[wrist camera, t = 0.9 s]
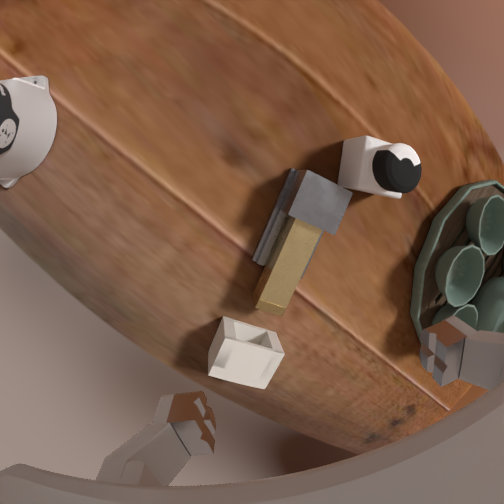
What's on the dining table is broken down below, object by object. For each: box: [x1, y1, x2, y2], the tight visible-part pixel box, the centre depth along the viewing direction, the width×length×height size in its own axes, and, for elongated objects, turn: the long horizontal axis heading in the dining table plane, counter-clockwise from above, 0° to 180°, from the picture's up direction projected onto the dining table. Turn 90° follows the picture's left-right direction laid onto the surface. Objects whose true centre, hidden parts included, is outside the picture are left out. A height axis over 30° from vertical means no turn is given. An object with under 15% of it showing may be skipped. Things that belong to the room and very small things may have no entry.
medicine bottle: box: [337, 136, 421, 199], centre depth 36 cm, size 7×7×12 cm
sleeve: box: [251, 168, 353, 279], centre depth 39 cm, size 8×14×6 cm, turn 157°
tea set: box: [410, 180, 504, 346], centre depth 43 cm, size 40×40×16 cm
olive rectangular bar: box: [252, 215, 322, 316], centre depth 40 cm, size 4×16×4 cm, turn 157°
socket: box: [208, 316, 285, 389], centre depth 43 cm, size 9×7×6 cm
